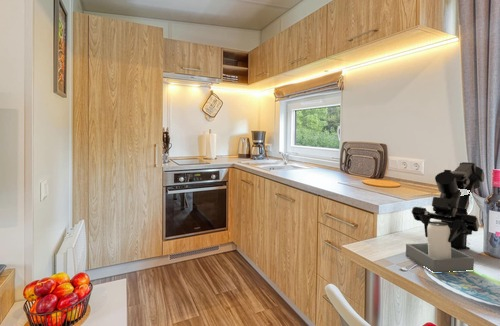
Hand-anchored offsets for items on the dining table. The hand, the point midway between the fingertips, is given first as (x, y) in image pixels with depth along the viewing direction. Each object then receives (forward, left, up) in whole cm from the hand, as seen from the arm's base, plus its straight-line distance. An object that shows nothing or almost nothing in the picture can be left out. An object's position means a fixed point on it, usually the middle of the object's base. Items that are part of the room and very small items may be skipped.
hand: (437, 239), depth 93 cm
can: (-1, 0, -7) cm, 7 cm away
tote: (-1, -1, -9) cm, 9 cm away
